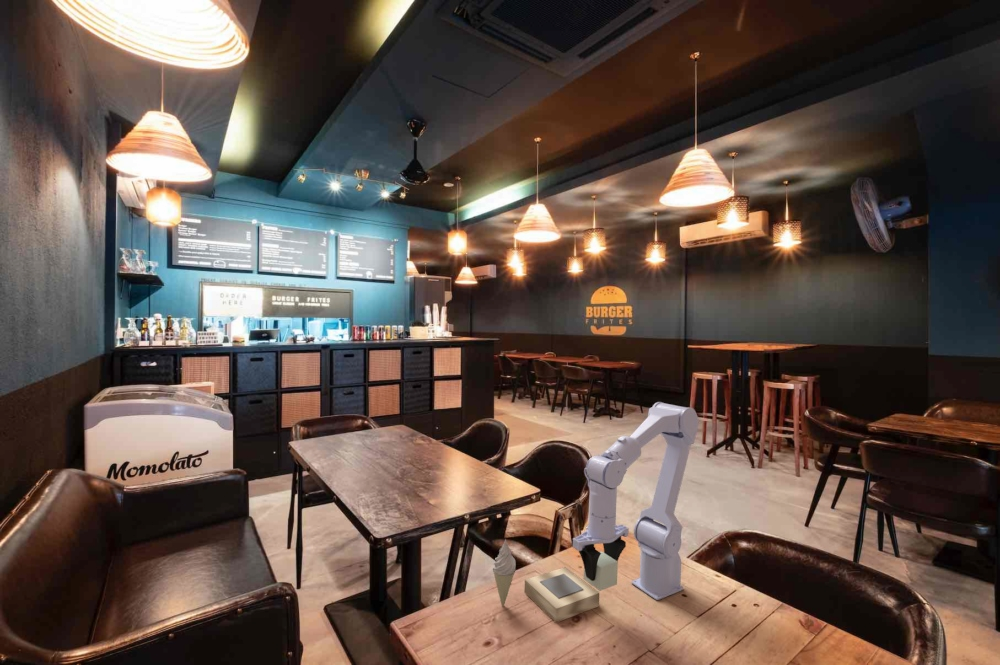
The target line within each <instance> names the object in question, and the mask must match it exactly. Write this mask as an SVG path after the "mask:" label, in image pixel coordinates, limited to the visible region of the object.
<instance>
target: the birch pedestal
mask: <svg viewBox="0 0 1000 665" xmlns="http://www.w3.org/2000/svg"><path fill="white" fill-rule="evenodd" d="M523 593H525V594H526V596H528V597H529V598H530V599H531V600H532V601H533V602H534V604H536V605H537V606H538V607H539V608H540V609H541V610H542V611H543V612H544V613H545V614H546V615H547V616H548V617H550V619H551V620H552V621H553V622H555V623H559V622H561V621H564V620H567V619H569V618H572V617H574V616H576V615H579V614H583V613H584V612H588V611H589V610H592V609H596V608H597V607H599V606H600V591H599V590H598V589H596V588H595V587H594V586H592V585H591V584H590V583H588V582H587V581H586V580H584V579H583V578H582V577H581V578H580V577H579V575H577V574H576V573H574V571H571V569H569V568H568V567H566V566H564V567H562V568H557V569H555V570H551V571H548V572H544V573H541V574H538V575H535V576H533V577H529V578H526V579H524V592H523Z"/></svg>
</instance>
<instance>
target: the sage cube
mask: <svg viewBox="0 0 1000 665" xmlns="http://www.w3.org/2000/svg"><path fill="white" fill-rule="evenodd" d="M599 552H600V553H601V554H600V556H599V559H598V562H597V568H596V577H595V580H594V581H591V580H590V579H589V578H587V577H586V573H585V568H584V567H583V581H585V582H586V583H587V584H589V585H590V586H591V587H593V588H594V589H595V590H597V591H598V592H601V591H604V590H606V589H608V588H611V587H614V586H617V584H618V569H619V566H618V565H619V562H618V561H619V560H618V561H616V560H615V559H613V558H611V557H610V556H608V555H607V554H605V553H604V551H602V550H601V551H599Z"/></svg>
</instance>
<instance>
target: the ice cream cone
mask: <svg viewBox="0 0 1000 665" xmlns="http://www.w3.org/2000/svg"><path fill="white" fill-rule="evenodd" d="M498 552H499V553H498V554H497V557H495V559H494V560H495V562H493V565H494V566H493V567H492V572H493V575H494V580H495V583H496V587H497V592H498V596H499V600H500V605H501V607H504V606H505V604H506V601H507V597H508V594H509V591H510V587H511V585H512V581H513V578H514V574H515V573H516V565H517V564H516V563H517V562H516V559H515V558H514V557H513V555H512V550H511V549H510V547H509V544H508V542H507V539H506V538H505V539H504V541H503V544H502V546H501V547H500V549H499V551H498Z"/></svg>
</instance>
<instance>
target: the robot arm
mask: <svg viewBox="0 0 1000 665" xmlns="http://www.w3.org/2000/svg"><path fill="white" fill-rule="evenodd" d="M699 424H700V420H699V416H698V415H697V412H696V409H695V408H693V407H689V406H688V407H686V406H680V405H675V404H669V403H664V402H662V401H657V402H655V403H654V404H652V407H649V409H648V414H647V417H646V418H645V419H644V420H643V422H642V423H641V424H640V425H639V426H638V427H637V428H636V429H635V430H634V431H633V432H632V434H631V435H630V436H628V435H623V436H619V437H618V438H617V440H616V441H615V442H614V443H612V444H611V446H610V447H608V448H606V450H605V451H604V452H602V453H601V454H598V455H597V454H596V455H593V456H592V457H590V458H589V459H588V460H587V462H586V466H585V468H584V470H583V473H584V476H585V478H586V479H587V487H588V488H589V497H588V498H589V500H588V501H589V502H588V525H587V526H586V527H585V528H586V530H585V531H583V532H581V534H579V535H577V536H576V537H573V538H572V548H573V549H575V550H576V551H578V553H579V555H580V557H581V560H582V564H583V569H584V568H585V573H586V577H587V578H589V579H590V580H591V581H594V580H595V577H596V568H597V562H598V559H599V556H600V554H601V553H600V551H599V550H597V549H596V547H595V545H597V544H600V545H601V544H602V545H603V552H604V553H605V554H607V555H608V556H610V557H611V558H613V559H615V560H616V561H619V558H620V556H621V554H622V553H623V551H624V549H625V548H626V545H627V542H626V541H625V540H623V539H622V537H624V538H628V537H629V529H630V528H629V527H628V526H626V525H624V524H618V525H616V523H617V521H616V520H617V496H618V495H617V494H618V486H620V485H622V482H623V480H624V478H625V475H626V474H627V471H628V468H629V467H631V466H632V464H634V463H635V462H636V461H637V460H638V459H639V458H640V457H641V456H642V448H643V447H644V446H646V445H647V444H649V443H650V442H651V441H652V440H654V439H655V438H656V437H658V436H659V435H661V437H662V438H664V440H665V441H666V449H665V452H664V456H663V459H662V460H663V461H662V463H661V468H660V470H659V471H660V472H659V475H658V479H657V483H656V487H655V491H654V494H653V499H652V503H651V506H649V507H646V508H644V509H642V510H641V511H640V514H639V516H638V519H637V520H636V521H635V524H634V526H633V537H634V539H635V540H636V542H638V545H637V546H638V548H639V549H640V555H639V556H640V561H639V563H640V564H639V577H638V578H636V579H633V580H631V584H632V585H634V586H635V587H636V588H638V589H639V590H641V592H643V593H645V594H646V595H648V596H649V597H651V598H653V599H654V600H655V601H659V600H662V599H664V598H667V597H668V596H671V595H674V594H676V593H678V592H680V591H683V590H684V586H682V585H681V580H682V579H681V578H682V559H681V556H680V554H679V552H680V550H681V546H682V532H683V526H682V524H681V523H680V521H679V519H678V518H677V516H676V515H675V511H676V507H677V502H678V497H679V494H680V490H681V488H682V482H683V478H684V475H685V470H686V468H687V467H686V466H687V463H688V459H689V455H690V450H691V446H692V445H694V443H695V440H696V436H697V432H698V429H699Z"/></svg>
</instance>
